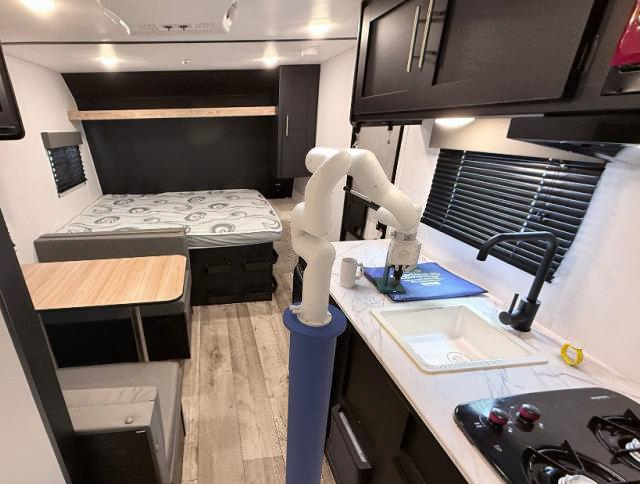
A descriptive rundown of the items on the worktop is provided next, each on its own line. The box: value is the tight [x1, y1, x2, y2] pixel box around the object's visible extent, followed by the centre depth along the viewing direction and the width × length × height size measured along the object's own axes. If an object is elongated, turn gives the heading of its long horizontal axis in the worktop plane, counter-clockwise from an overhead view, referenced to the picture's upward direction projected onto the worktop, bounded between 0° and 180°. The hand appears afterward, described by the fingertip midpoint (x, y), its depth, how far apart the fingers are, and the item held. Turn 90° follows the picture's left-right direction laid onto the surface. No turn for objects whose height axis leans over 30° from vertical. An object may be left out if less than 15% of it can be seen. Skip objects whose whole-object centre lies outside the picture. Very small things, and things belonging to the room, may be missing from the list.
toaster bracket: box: [373, 258, 406, 295], centre depth 134 cm, size 12×10×13 cm
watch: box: [560, 342, 584, 366], centre depth 91 cm, size 6×3×6 cm, turn 169°
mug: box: [339, 256, 365, 289], centre depth 137 cm, size 10×7×12 cm, turn 82°
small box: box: [403, 241, 423, 273], centre depth 150 cm, size 8×6×13 cm
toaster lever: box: [390, 266, 402, 286], centre depth 129 cm, size 12×3×3 cm
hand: (397, 278), depth 126 cm, fingers closed
